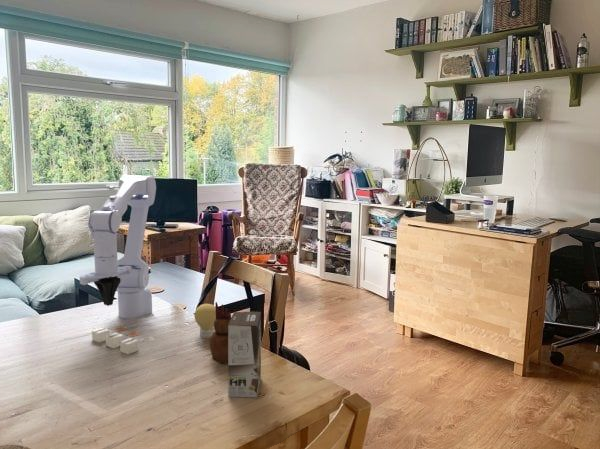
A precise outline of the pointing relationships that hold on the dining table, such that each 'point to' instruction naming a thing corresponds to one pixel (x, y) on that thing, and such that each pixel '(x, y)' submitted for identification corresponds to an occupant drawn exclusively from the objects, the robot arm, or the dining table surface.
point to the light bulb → (205, 319)
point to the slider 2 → (129, 346)
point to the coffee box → (244, 354)
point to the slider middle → (114, 340)
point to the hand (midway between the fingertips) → (108, 304)
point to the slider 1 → (100, 334)
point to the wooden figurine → (220, 336)
